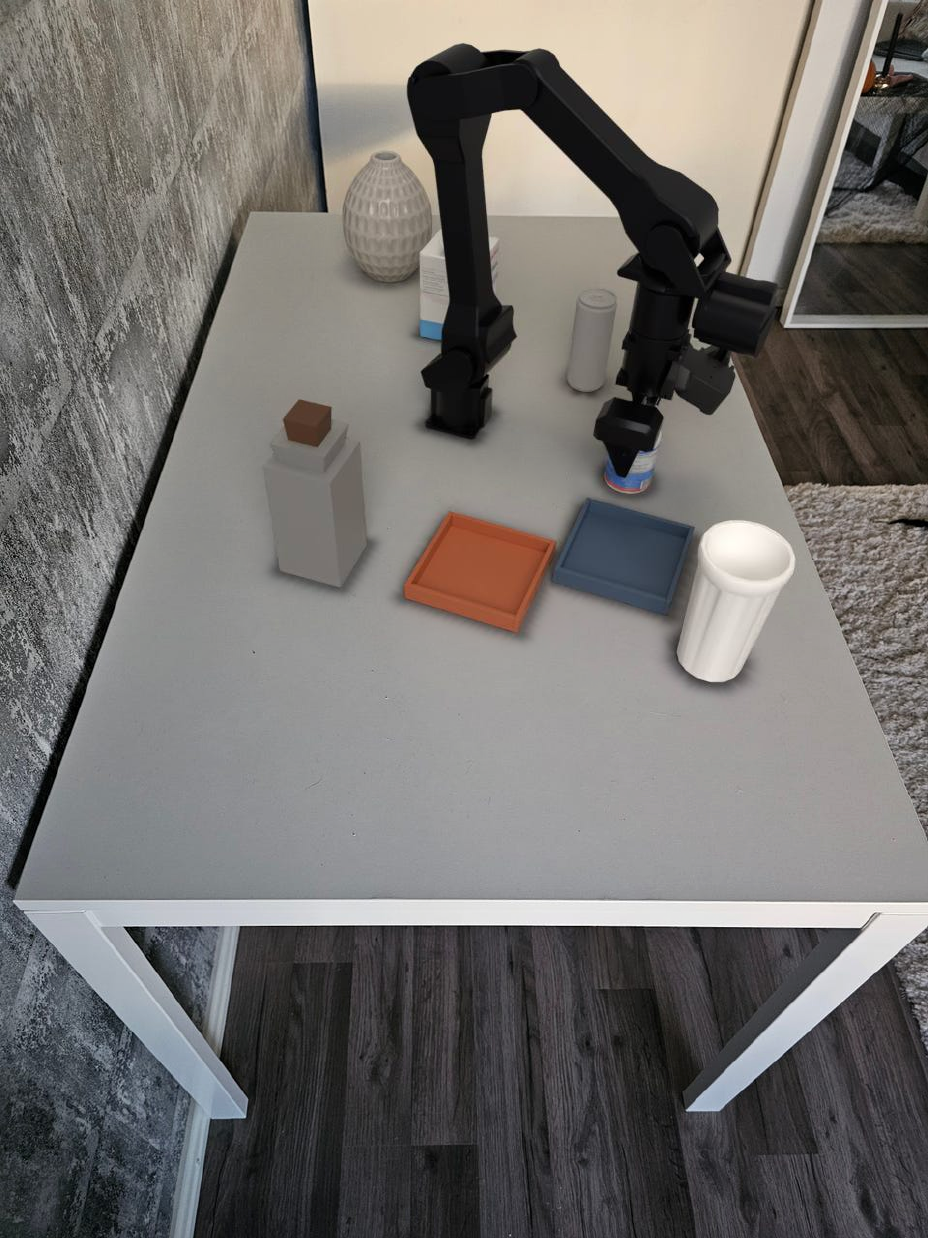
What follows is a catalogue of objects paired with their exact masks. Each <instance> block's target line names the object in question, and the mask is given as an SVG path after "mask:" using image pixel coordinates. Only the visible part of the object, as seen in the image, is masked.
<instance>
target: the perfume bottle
mask: <svg viewBox="0 0 928 1238" xmlns="http://www.w3.org/2000/svg"><path fill="white" fill-rule="evenodd" d="M332 412H333V411H332V406H331V405H330V406H329V405H325V404H321V403H316V402H313V401H309V400H304V399H297V401H296V402H295V403H294V404H293V405H292V407H291V408H290V409H289V411H288V412H287V413H286V414H285V415H284V416H283V418H282V422H283V426H282V427H281V429H280V430H279V431H278V432H277V434H276V435H275V436H274V438H273V439H272V440H270V442H269V446H270V447H271V450H272V451H273V452H272V453H271V455H270V456H269V457H268V458H267V460H266V461H265V463H264V464H263V465H262V472H263V473H262V474H263V479H264V482H265V483H264V484H265V489H266V490H265V491H266V495H267V502H268V509H269V514H270V520H271V526H272V533H273V537H274V543H275V550H276V556H277V561H278V567H279V572H282V573H286V574H289V575H292V576H296V577H300V578H304V579H308V580H311V581H314V582H318V583H321V584H325V585H328V586H333V587H335V588H342V587H343V585H344V583H345V582H346V580H347V578H348V577H349V575H350V573H351V572H352V570H353V568H355V567H354V566H355V565H356V564H357V562H358V561H359V559H360V557H361V555H362V554H363V552H364V550H365V549H366V548H367V546H368V542H367V540H368V539H367V524H366V512H365V511H366V510H365V495H364V482H363V481H364V480H363V465H362V463H363V462H362V450H361V449H362V448H361V440H358V439H354V438H350V437H347V434H348V431H349V427H350V423H348V422H344V421H340V420H336V419H332Z"/></svg>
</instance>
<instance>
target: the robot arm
mask: <svg viewBox="0 0 928 1238" xmlns="http://www.w3.org/2000/svg"><path fill="white" fill-rule="evenodd" d="M406 99H407V103H408V107H409V111H410V114H411V119H412V122H413V126H414V130H415V133H416V136H417V137H418V139H419V140H420V143H421V144H422V146H423V147H424V149H425V150H426V151H427V153H428V155H429V156H430V158H431V160H432V163H433V170H434V177H435V186H436V187H435V188H436V196H437V204H438V212H439V222H440V229H441V230H442V239H443V248H444V256H445V265H446V273H447V282H448V291H449V305H448V309H447V312H446V316H445V319H444V323H443V327H442V331H441V340H440V352H439V354H437V355H436V356H435V357H434V358H433V359H432V360H431V361H430V362H429V363H427V365H426V366H424V367H423V368H422V369H421V371H420V375H421V377H422V381H423V385H424V387H425V388H426V389H429V390H430V415H429V416H428V417H427V419H426V420H425V422H424V426H425V428H427V429H430V430H434V431H438V432H441V433H446V434H450V435H452V436H453V435H454V436H457V437H461V438H465V439H468V440H476V438H477V436H478V435H479V433H480V432H481V430H482V429H483V428H485V427H486V425H487V424H488V422H489V421H490V419H491V417H492V413H493V411H492V410H493V409H492V407H493V388H492V387H490V374H488V373H489V372H491V370H492V369H493V368H494V367H495V366H496V365H497V364H498V363H499V362H500V361H501V360H502V359H503V358H504V357H505V356H506V355H507V354H508V353H509V351H511V348H512V344H513V342H514V340H516V339H517V338H518V335H517V333H516V330H515V327H514V315H515V314H514V313H515V309H514V305H512V304H505V305H503V304H502V303H501V301H500V300H499V298H498V297H497V294H496V295H495V294H494V291H493V284H492V272H491V259H490V247H489V236H490V235H489V224H488V223H489V222H488V213H487V212H488V211H487V199H486V185H485V173H484V163H483V149H484V145H485V142H486V138H487V134H488V131H489V128H490V123H491V121H492V115H493V114H496V113H501V112H506V111H507V112H508V111H521V112H522V113H523V114H524V115H525V116H526V117H527V118H528V119H529V120H530V121H531V122H532V123H533V124H534V125H535V126H536V127H537V128H538V129H539V130H540V131H541V132H542V133H543V134H544V135H545V136H546V137H547V138H548V139H549V140H550V141H551V142H552V143H553V144H554V145H555V146H556V147H557V148H558V149H559V150H560V151H561V152H562V153H563V154H564V155H565V156H566V157H567V158H568V159H569V161H571V162H572V163H573V164H574V165H575V166H576V167H577V168H578V169H579V170H580V171H581V172H582V174H584V175H585V176H586V178H588V180H589V181H591V182H592V183H593V184H594V186H595V187H596V188H598V190H599V191H600V192H601V193H602V194H604V196H605V197H606V198H607V199H608V200H609V201H610V203H611V204H612V205H613V207H614V208H615V209H616V211H617V213H618V216H619V220H620V222H621V225H622V229H623V230H624V233H625V235H626V237H627V238H628V239H629V241H630V242H631V244H632V245H633V246H634V247H635V249H636V251H637V252H636V253H634V254H632V255H630V256H629V257H628V258H627V259H626V260H625V261H624V262H623V263H622V264H621V266H620V267H618V269H617V270H616V275H617V276H618V277H620V278H623V279H625V280H629V281H633V282H636V288H635V293H634V299H633V304H632V309H631V313H630V320H629V324H628V325H629V326H628V330H627V331H626V333H625V334H624V337H623V339H622V344H621V350H623V351H624V352H623V357H622V363H621V366H620V368H619V370H618V372H617V374H616V376H615V383H614V385H615V386H619V387H624V388H626V391H628V392H630V393H631V394H630V395H631V400H630V399H625V398H621V397H616V396H613V397H612V398H610V399H608V400H606V401H604V402H603V405H602V407H601V408H600V410H599V412H598V415H597V416H596V419H595V421H594V428H593V434H592V436H593V437H594V438H595V440H597V441H600V442H602V444H603V446H604V447H605V450H606V452H607V456H608V455H609V457H610V460H611V462H612V465H613V468H614V470H615V473H616V475H617V476H619V477H622V478H626V477H627V475H628V473H629V471H630V469H631V467H632V465H633V463H634V461H635V459H636V456H637V454H638V452H639V451H642V452H650V451H653V449H654V447H655V444H656V442H657V440H658V437H659V434H660V431H662V428H663V424H664V419H665V416H664V415H663V413H662V412H661V410H660V411H659V409H660V408H659V405H660V402H661V400H666V401H670V402H671V401H672V400H673V397H674V394H676V396H678V397H679V398H680V399H682V400H684V401H685V402H687V403H689V404H690V405H691V406H693V407H695V408H696V409H698V410H699V412H700V413H702V414H703V415H706V416H712V415H714V414H715V412H716V411H717V409H718V408H719V407H720V406H721V405H722V404H723V402H724V401H725V400H726V398H727V397H728V396H729V394H730V393H731V391H732V388H733V386H734V384H735V381H736V377H737V376H736V372H735V368H736V366H735V365H733V364H731V365H729V364H730V362H731V354H732V353H735V354H739V355H742V356H745V357H749V358H751V359H752V358H753V359H757V358H758V356H759V355H760V353H761V351H762V349H763V348H764V345H765V343H766V341H767V338H768V336H769V334H770V331H771V328H772V325H773V323H774V320H775V317H776V313H777V311H778V309H777V308H776V305H777V302H778V301H777V300H778V297H777V293H778V290H779V286H780V285H779V284H778V283H777V282H774V281H771V280H770V281H769V280H765V279H754V278H751V277H747V276H743V275H738V274H736V273H733V272H728V271H727V270H728V268H729V266H730V265H731V263H732V260H733V259H732V257H731V255H730V252H729V250H728V247H727V244H726V243H725V240H724V237H723V236H722V232H721V231H720V228H719V212H720V209H719V206H718V203H717V201H716V199H715V198H714V196H713V195H712V194H711V193H709V192H708V191H707V190H706V189H705V188H703V187H702V186H701V185H699V184H698V183H696V182H695V181H694V180H692V179H691V178H690V177H688V176H687V175H685V174H684V173H682V172H680V171H678V170H675V169H673V168H671V167H668V166H665V165H662V164H660V163H658V162H657V161H655V160H654V159H653V158H652V157H650V156H649V155H648V154H647V153H646V152H644V151H643V149H641V148H640V147H639V145H637V143H636V142H634V140H633V139H632V138H631V137H630V136H629V135H628V134H627V133H626V132H625V131H624V130H623V129H622V128H621V127H620V126H619V125H618V124H617V123H616V122H615V121H614V119H613V118H611V117H610V116H609V115H608V113H607V112H605V111H604V109H602V108H601V106H600V105H599V104H598V103H597V102H596V101H595V100H594V99H593V98H592V97H591V96H590V95H589V94H588V93H587V92H586V91H585V90H584V89H583V88H582V87H581V86H580V85H579V84H578V83H577V82H576V81H575V80H574V79H573V77H571V75H569V74H568V73H567V72H566V71H565V69H564V68H563V67H562V66H561V64H560V60H559V59H558V58H557V56H556V54H554V53H552V52H551V51H550V50H548V49H544V48H539V47H538V48H535V49H531V50H513V49H495V50H485V51H481V50H480V49H478V48H477V47H475V46H474V45H472V44H470V43H465V42H461V43H457V44H453V45H452V46H450V47H448V48H446V49H444V50H442V51H441V52H439V53H436V54H435V55H433V56H431V57H429V58H427V59H426V60H424V61H422V62H420V63H418V65H416V66H415V67H414V69H413V71H411V74H410V76H408V78H407V83H406ZM699 255H700V256H702V258H703V259H702V260H701V261H700V263H699V264H698V265H697V263H696V261H695V260H696V258H697V257H698V256H699ZM696 299H697V301H696V304H695V300H696ZM694 305H695V309H694ZM693 309H694V312H693ZM692 313H693V315H692ZM690 322H691V328H692V329H693V337H692V333H690V331H691V329H690V328H689V325H690ZM692 338H694V339H697V340H698V342H700V343H703V344H705V345H709V346H706V347H703V346H701V347H700V349H697V348H695V347H694V345H693V344H692V343H691V339H692ZM646 400H647V402H646V404H644V403H645V401H646ZM656 405H657V406H658V408H659V409H658V408H657V407H655V406H656Z"/></svg>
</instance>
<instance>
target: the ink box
mask: <svg viewBox="0 0 928 1238" xmlns="http://www.w3.org/2000/svg"><path fill="white" fill-rule="evenodd" d="M500 241H501V239H500V237H496V236H490V235H489V247H490V259H491V272H492V284H493V291H494V294H495V295H496V296H497V291H498V274H499V256H500V255H499V254H500V252H499V251H500ZM448 305H449V291H448V282H447V273H446V265H445V256H444V248H443V239H442V230H441V228H440V229H439V230H438V231H437V232H436V233H435V234H434V236H432V238H431V240H430V241H429V243H428V244H427V245H426V246H425V247H424V248H423V250H422V251H421V252H420V265H419V334H420V337H421V338H428V339H431V340H437V341H441V331H442V327H443V323H444V319H445V316H446V312H447V309H448Z"/></svg>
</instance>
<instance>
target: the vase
mask: <svg viewBox="0 0 928 1238" xmlns="http://www.w3.org/2000/svg"><path fill="white" fill-rule="evenodd" d="M342 206H343V207H342V217H341V218H342V219H341V220H342V221H341V222H342V231H343V237H344V242H345V243H346V247H347V249H348V251H349V253H350V255H351V257H352V258H353V260H354V261H355V263H356V264H357V265H358V267H359V268H360V270H362V271H363V272H364V274H366V275H367V276H368V277H369V278H371V280H374V281H376V282H379V283H387V284H392V283H399V282H402V281H404V280H407V279H408V278H409V277H410V276H412V274H413V273H414V272H415V271H416V270H417V269H419V267H420V252H421V251H422V250H423V248H424V247H425V246H426V245H427V244H428V243H429V241H430V240H431V239H432V238H433V211H432V205H431V202H430V198H429V196H428V193H427V191H426V189H425V186H424V185H423V183H422V181H421V180H420V178H419V177H418V175H417V174H416V173H415V172H414V171H413V170H412V169H411V168H410V166H408V165H407V164H406V163H405V162H403V160H402V156H401V155H400V154H399V153H398V152H395V151H393V150H378V151H376V152H374V153H372V154H371V156H370V159H369V161H367V163H366V164H364V166H362V167H361V169H360V170H359V171H358V172H357V173H356V175H355V176H354V177H353V179H352V180H351V182H350V184H349V187H348V189H347V191H346V194H345V197H344V201H343V205H342Z"/></svg>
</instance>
